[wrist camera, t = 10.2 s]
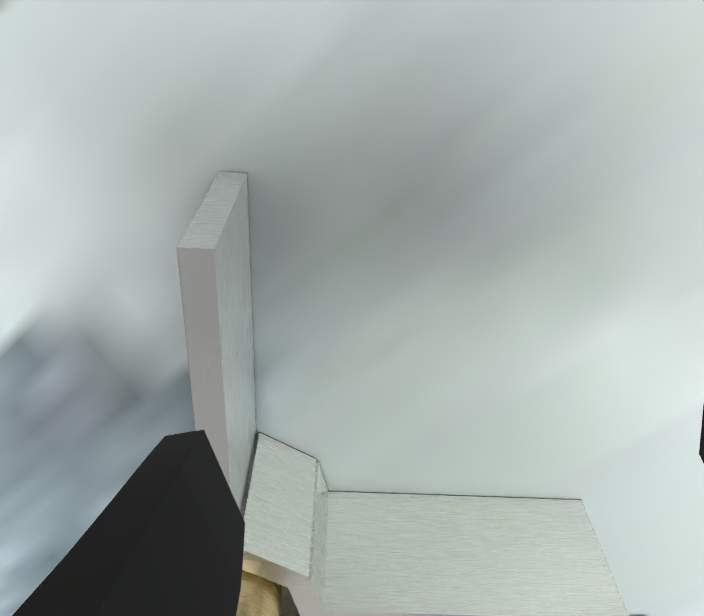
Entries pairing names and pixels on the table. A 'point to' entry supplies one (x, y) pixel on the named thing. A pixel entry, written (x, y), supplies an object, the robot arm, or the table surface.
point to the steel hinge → (352, 507)
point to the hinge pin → (258, 596)
